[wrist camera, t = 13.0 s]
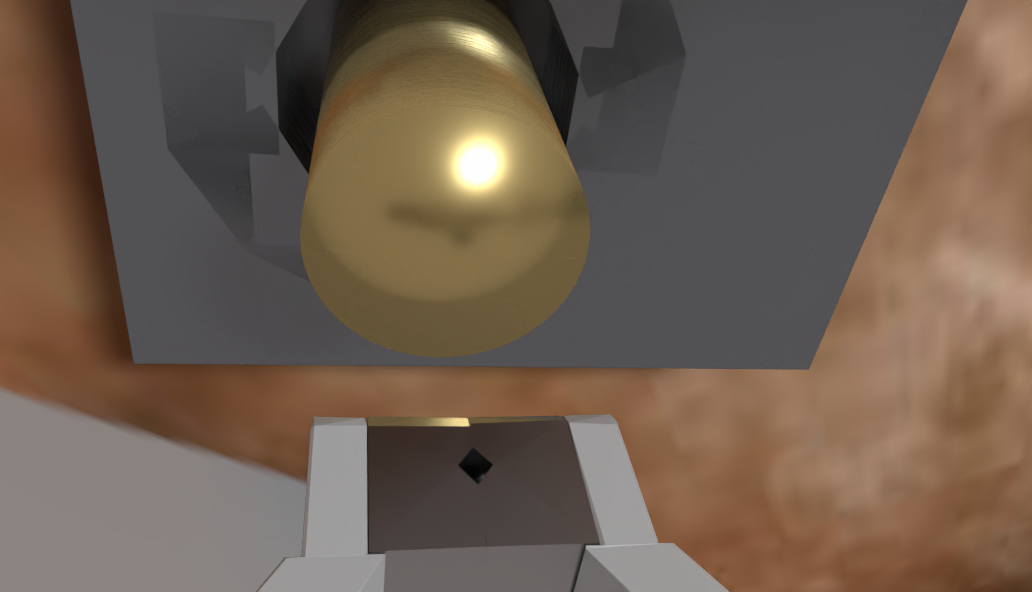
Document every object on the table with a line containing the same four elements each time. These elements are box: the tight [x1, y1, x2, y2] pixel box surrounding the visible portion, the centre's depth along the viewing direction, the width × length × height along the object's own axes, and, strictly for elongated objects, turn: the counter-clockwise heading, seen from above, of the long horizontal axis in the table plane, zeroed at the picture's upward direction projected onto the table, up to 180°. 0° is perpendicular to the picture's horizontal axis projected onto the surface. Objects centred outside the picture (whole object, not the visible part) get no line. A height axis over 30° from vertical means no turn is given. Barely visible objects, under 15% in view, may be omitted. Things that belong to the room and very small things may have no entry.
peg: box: [300, 0, 590, 357], centre depth 15 cm, size 4×4×8 cm
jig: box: [70, 0, 967, 370], centre depth 18 cm, size 16×13×4 cm
